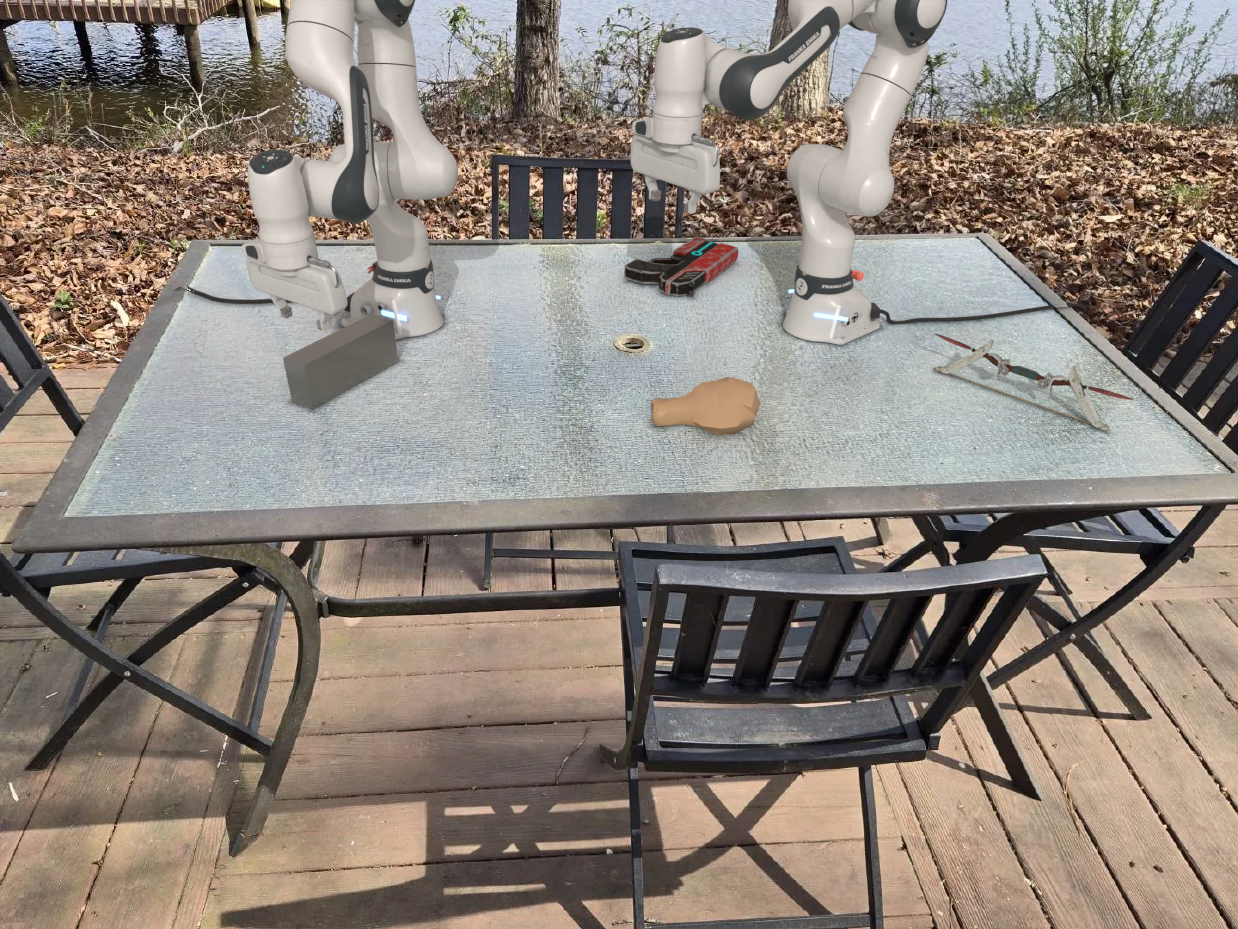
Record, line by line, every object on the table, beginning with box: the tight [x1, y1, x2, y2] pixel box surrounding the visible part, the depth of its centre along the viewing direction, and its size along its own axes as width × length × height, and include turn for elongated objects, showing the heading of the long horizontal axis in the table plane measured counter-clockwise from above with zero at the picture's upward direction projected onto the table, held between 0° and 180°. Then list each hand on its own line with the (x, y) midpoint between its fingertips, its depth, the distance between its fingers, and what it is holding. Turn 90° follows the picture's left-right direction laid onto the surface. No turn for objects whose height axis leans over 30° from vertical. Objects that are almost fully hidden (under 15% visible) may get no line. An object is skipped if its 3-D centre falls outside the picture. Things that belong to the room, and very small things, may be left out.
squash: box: [650, 376, 761, 436], centre depth 160 cm, size 11×20×9 cm, turn 90°
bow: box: [934, 333, 1135, 431], centre depth 171 cm, size 39×2×10 cm, turn 47°
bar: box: [282, 314, 399, 411], centre depth 170 cm, size 23×6×9 cm, turn 150°
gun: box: [623, 236, 739, 298], centre depth 223 cm, size 4×31×19 cm
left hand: (305, 322), depth 159 cm, fingers open, 8 cm apart
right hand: (672, 206), depth 164 cm, fingers open, 8 cm apart
